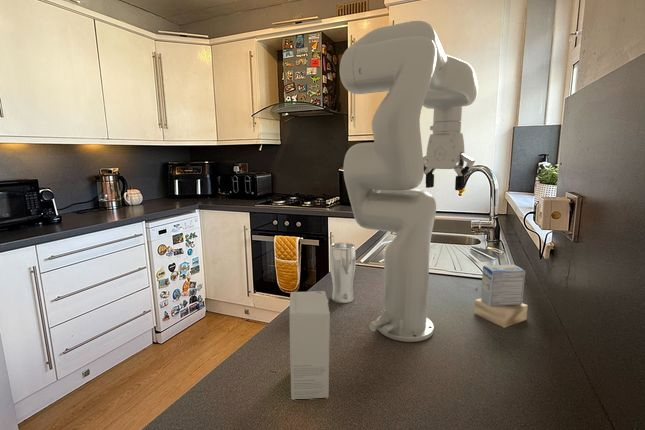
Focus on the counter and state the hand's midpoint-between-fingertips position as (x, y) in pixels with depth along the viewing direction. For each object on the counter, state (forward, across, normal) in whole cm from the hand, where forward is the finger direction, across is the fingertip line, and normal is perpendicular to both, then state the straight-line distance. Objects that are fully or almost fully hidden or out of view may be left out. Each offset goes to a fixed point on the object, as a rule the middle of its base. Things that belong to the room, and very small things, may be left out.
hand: (443, 188), depth 103 cm
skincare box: (+28, +14, -60) cm, 68 cm away
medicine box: (+25, +23, -10) cm, 35 cm away
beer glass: (+28, -9, -32) cm, 44 cm away
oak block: (+29, +23, -10) cm, 38 cm away
